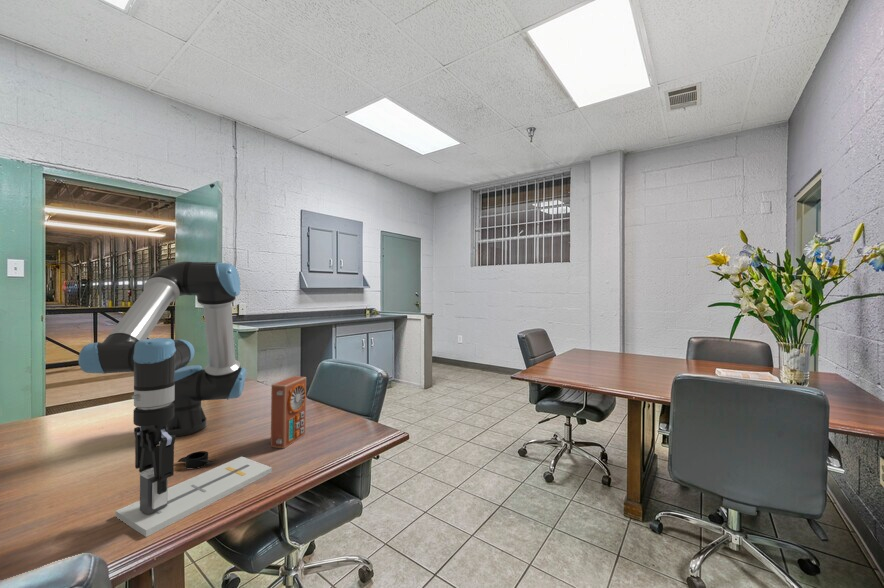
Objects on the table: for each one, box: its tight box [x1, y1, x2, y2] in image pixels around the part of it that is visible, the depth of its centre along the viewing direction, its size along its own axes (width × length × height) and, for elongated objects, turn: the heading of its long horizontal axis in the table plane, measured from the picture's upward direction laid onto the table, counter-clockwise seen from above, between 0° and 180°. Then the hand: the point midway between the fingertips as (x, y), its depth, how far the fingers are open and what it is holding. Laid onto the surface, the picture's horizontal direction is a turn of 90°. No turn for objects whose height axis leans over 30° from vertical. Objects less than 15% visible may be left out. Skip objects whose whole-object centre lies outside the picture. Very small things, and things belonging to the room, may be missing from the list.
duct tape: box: [177, 450, 216, 469], centre depth 109 cm, size 8×10×3 cm
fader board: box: [115, 456, 273, 538], centre depth 94 cm, size 14×31×2 cm, turn 153°
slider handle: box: [139, 468, 169, 515], centre depth 84 cm, size 4×4×9 cm
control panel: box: [270, 375, 307, 449], centre depth 127 cm, size 21×7×15 cm
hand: (153, 502), depth 84 cm, fingers open, 4 cm apart
